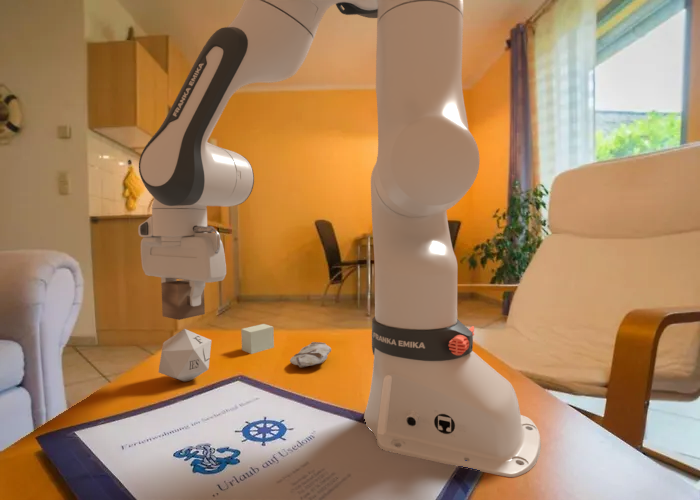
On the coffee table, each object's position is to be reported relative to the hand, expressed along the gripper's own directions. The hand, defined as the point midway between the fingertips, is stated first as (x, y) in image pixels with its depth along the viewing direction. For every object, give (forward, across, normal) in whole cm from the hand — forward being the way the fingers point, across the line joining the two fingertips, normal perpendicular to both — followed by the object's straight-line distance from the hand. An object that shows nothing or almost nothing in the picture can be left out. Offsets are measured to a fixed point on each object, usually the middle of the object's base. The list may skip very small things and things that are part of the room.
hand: (183, 303), depth 65 cm
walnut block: (+2, 0, 0) cm, 2 cm away
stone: (+15, -15, -23) cm, 31 cm away
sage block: (+15, +3, -20) cm, 25 cm away
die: (+15, 0, 0) cm, 15 cm away
